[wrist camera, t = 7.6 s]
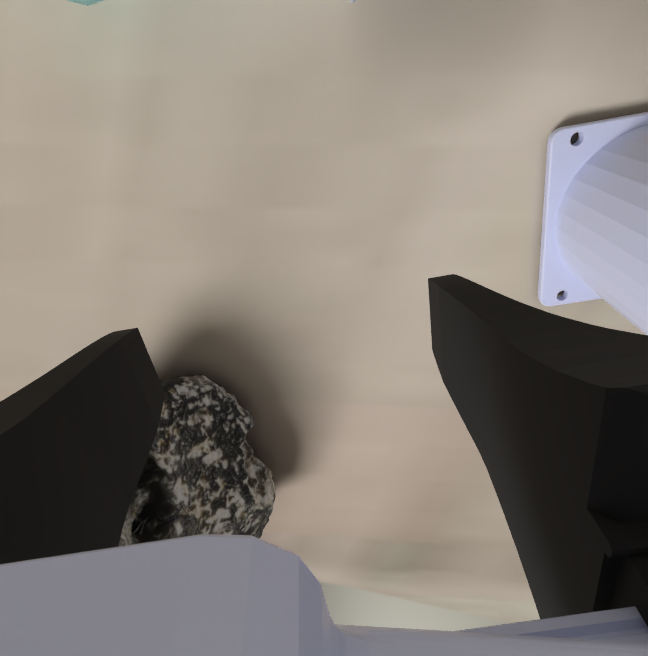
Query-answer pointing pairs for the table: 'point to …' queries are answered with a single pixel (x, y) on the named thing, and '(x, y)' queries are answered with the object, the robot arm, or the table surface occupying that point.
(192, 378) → the rock
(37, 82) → the table surface
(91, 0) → the teal slab
